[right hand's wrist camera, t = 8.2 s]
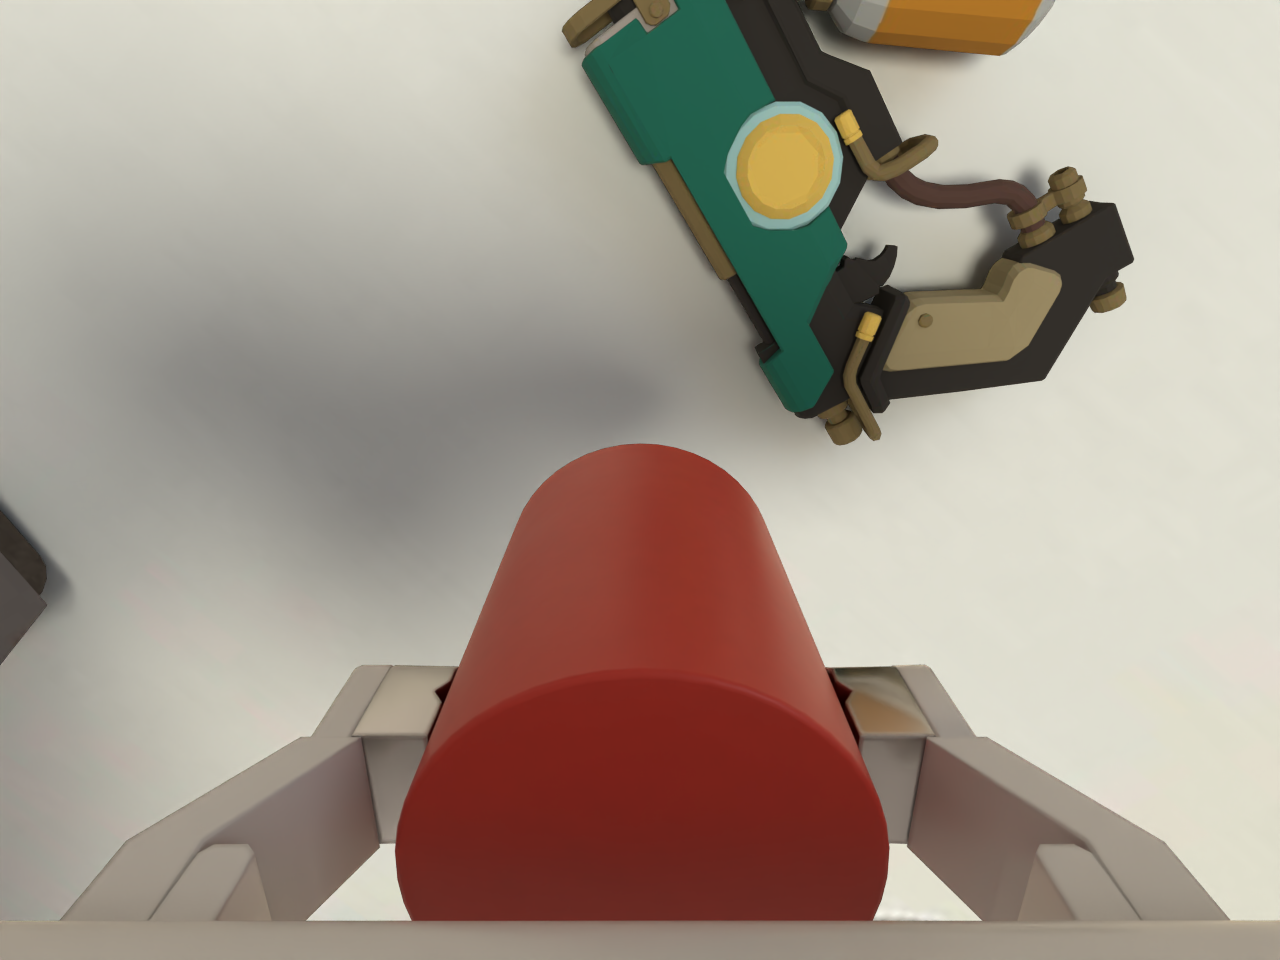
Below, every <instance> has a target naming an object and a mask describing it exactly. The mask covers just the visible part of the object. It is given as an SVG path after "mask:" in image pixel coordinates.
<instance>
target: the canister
mask: <svg viewBox="0 0 1280 960" xmlns="http://www.w3.org/2000/svg"><path fill="white" fill-rule="evenodd" d="M395 856H396V868H397V879H398V883H399V887H400V891H401V894H402V898H403V902H404V904H405V907H406V909H407V911H408V913H409V915H410V918H411V920H412V921H873V919H874V916H875V914H876V912H877V909H878V907H879V905H880V902H881V900H882V896H883V892H884V888H885V884H886V880H887V874H888V861H889V840H888V830H887V823H886V819H885V816H884V812H883V809H882V806H881V802H880V799H879V797H878V794H877V792H876V789H875V787H874V784H873V782H872V780H871V777H870V775H869V772H868V770H867V768H866V765H865V763H864V760H863V758H862V755H861V753H860V751H859V748H858V746H857V743H856V741H855V739H854V736H853V734H852V731H851V729H850V727H849V724H848V722H847V719H846V717H845V714H844V712H843V710H842V707H841V705H840V702H839V700H838V698H837V695H836V693H835V690H834V688H833V686H832V683H831V681H830V678H829V676H828V673H827V671H826V669H825V666H824V664H823V661H822V659H821V657H820V654H819V652H818V649H817V647H816V644H815V642H814V640H813V637H812V635H811V632H810V630H809V628H808V625H807V623H806V620H805V618H804V616H803V613H802V611H801V608H800V606H799V603H798V601H797V599H796V596H795V594H794V591H793V589H792V587H791V584H790V582H789V579H788V577H787V574H786V572H785V570H784V567H783V565H782V562H781V560H780V558H779V555H778V553H777V550H776V548H775V546H774V543H773V541H772V538H771V536H770V533H769V531H768V529H767V526H766V524H765V521H764V519H763V517H762V515H761V513H760V511H759V509H758V507H757V505H756V504H755V503H754V501H753V500H752V498H751V497H750V495H749V494H748V492H747V491H746V490H745V489H744V488H743V487H742V486H741V485H740V484H739V482H738V481H737V480H735V479H734V478H733V477H732V476H731V475H729V474H728V473H727V472H726V471H725V470H723V469H722V468H720V467H719V466H717V465H715V464H714V463H712V462H711V461H709V460H707V459H705V458H702V457H700V456H698V455H696V454H694V453H691V452H688V451H685V450H681V449H678V448H674V447H669V446H663V445H657V444H627V445H618V446H613V447H608V448H604V449H601V450H598V451H595V452H592V453H589V454H586V455H584V456H582V457H580V458H578V459H576V460H574V461H572V462H570V463H568V464H567V465H565V466H564V467H562V468H561V469H559V470H558V471H556V472H555V473H554V474H553V475H552V476H550V477H549V478H548V479H547V480H546V481H545V482H544V483H543V484H542V485H541V486H540V487H539V488H538V489H537V491H536V492H535V493H534V494H533V495H532V497H531V498H530V500H529V501H528V503H527V504H526V506H525V508H524V509H523V511H522V513H521V516H520V518H519V520H518V522H517V524H516V527H515V529H514V532H513V534H512V537H511V539H510V542H509V544H508V547H507V549H506V552H505V554H504V557H503V559H502V561H501V564H500V566H499V569H498V571H497V574H496V576H495V579H494V581H493V584H492V586H491V589H490V591H489V594H488V596H487V598H486V601H485V603H484V606H483V608H482V611H481V613H480V616H479V618H478V621H477V623H476V626H475V628H474V631H473V633H472V635H471V638H470V640H469V643H468V645H467V648H466V650H465V653H464V655H463V658H462V660H461V663H460V665H459V668H458V670H457V672H456V675H455V677H454V680H453V682H452V685H451V687H450V690H449V692H448V695H447V697H446V700H445V702H444V705H443V707H442V709H441V712H440V714H439V717H438V719H437V722H436V724H435V727H434V729H433V732H432V734H431V737H430V739H429V742H428V744H427V746H426V749H425V751H424V754H423V756H422V759H421V761H420V764H419V766H418V769H417V771H416V774H415V776H414V779H413V781H412V783H411V786H410V788H409V791H408V793H407V796H406V798H405V801H404V804H403V807H402V811H401V815H400V818H399V822H398V826H397V834H396V846H395Z"/></svg>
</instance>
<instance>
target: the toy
mask: <svg viewBox="0 0 1280 960" xmlns="http://www.w3.org/2000/svg"><path fill="white" fill-rule="evenodd" d="M46 579H47V577H46V566H45V564H44V562H43V560H42V559H41V557H40V555H39V554H38V553H37V552H36V551H35V550H34V548H33V547H32V546H31V545H30V544H29V543H28V542H27V540H26V539H25V538H24V537H23V536H22V535H21V534H20V532H19V531H18V530H17V529H16V528H15V527H14V526H13V524H12V523H11V522H10V521H9V520H8V519H7V518H6V516H5V515H4V514H3V513H2V512H1V511H0V665H1V663H2V662H3V661H4V660H5V658H6V657H7V656H8V654H9V653H10V652H11V651H12V649H13V648H14V647H15V646H16V644H17V643H18V642H19V640H20V639H21V638H22V637H23V635H24V634H25V633H26V632H27V630H28V629H29V628H30V626H31V625H32V624H33V623H34V621H35V620H36V619H37V618H38V616H39V615H40V614H41V612H42V611H43V610H44V609H45V607H46V606H47V604H46V603H45V602H44V600H43V599H42V598H41V597H40V596H39V595H40V594H41V592H42V591H43V588H44V585H45V582H46Z"/></svg>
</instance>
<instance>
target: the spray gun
mask: <svg viewBox="0 0 1280 960" xmlns="http://www.w3.org/2000/svg"><path fill="white" fill-rule="evenodd" d="M1054 2H1055V0H805V3H806V6H807V8H808V9H810V10H820V11H827V10H828V12H829V14H830V16H831V17H832V19H833V21H834V23H835V24H836V26H837V28H838V30H839V31H840V32H841V33H844V34H846V35H848V36H851V37H853V38H855V39H857V40H860V41H863V42H866V43H874V44H884V45H894V46H904V47H915V48H925V49H935V50H945V51H955V52H966V53H976V54H986V55H996V56H1001V55H1004V54H1006V53H1008V52H1009V51H1010V50H1012V49H1013V48H1014V47H1016V46H1017V45H1018V44H1020V43H1021V42H1022V41H1023V40H1024V39H1025V38H1026V37H1027V36H1028V35H1029V34H1030V33H1031V32H1032V31H1033V30H1034V29H1035V28H1036V27H1037V26H1038V25H1039V24H1040V22H1041V21H1042V20H1043V18H1044V17H1045V16H1046V14H1047V13H1048V12H1049V10H1050V9H1051V7H1052V6H1053V4H1054ZM612 21H613V22H614V25H613V26H612V27H610V28H609V29H608V30H606V31H605V32H604V33H603V34H601V35H600V36H599V37H597V38H596V39H595V40H594V41H593V42H592V43H591V44H590V45H589V46H588V47H587V49H586V52H585V56H586V57H585V58H584V60H583V62H582V67H583V69H584V70H585V72H586V74H587V75H588V77H589V79H590V80H591V82H592V84H593V85H594V87H595V89H596V91H597V92H598V94H599V96H600V97H601V99H602V101H603V102H604V104H605V106H606V107H607V109H608V111H609V112H610V114H611V116H612V118H613V119H614V121H615V123H616V124H617V126H618V128H619V129H620V131H621V133H622V134H623V136H624V138H625V139H626V141H627V143H628V145H629V146H630V148H631V150H632V151H633V153H634V155H635V156H636V158H637V160H638V161H639V163H640V164H641V165H649V164H652V165H653V166H654V168H655V170H656V172H657V173H658V175H659V177H660V178H661V180H662V182H663V183H664V185H665V187H666V189H667V190H668V192H669V194H670V195H671V197H672V199H673V200H674V202H675V204H676V206H677V207H678V209H679V211H680V212H681V214H682V216H683V217H684V219H685V221H686V222H687V224H688V226H689V228H690V229H691V231H692V233H693V234H694V236H695V238H696V239H697V241H698V243H699V245H700V246H701V248H702V250H703V251H704V253H705V255H706V256H707V258H708V260H709V262H710V263H711V265H712V267H713V268H714V270H715V272H716V273H717V275H718V277H719V279H720V280H726V279H728V281H729V283H730V284H731V286H732V288H733V290H734V291H735V293H736V295H737V296H738V298H739V300H740V302H741V303H742V305H743V307H744V308H745V310H746V312H747V314H748V315H749V317H750V319H751V320H752V322H753V324H754V326H755V327H756V329H757V331H758V332H759V334H760V336H761V338H762V339H763V341H764V342H762V343H760V344H759V345H757V346H756V347H755V349H756V351H757V353H758V355H759V357H760V360H759V365H760V366H761V368H762V370H763V371H764V373H765V375H766V377H767V378H768V380H769V382H770V383H771V385H772V387H773V388H774V390H775V392H776V393H777V395H778V397H779V399H780V400H781V402H782V404H783V405H784V407H785V408H786V409H787V410H788V411H791V412H794V413H795V415H796V416H797V417H799V418H804V419H807V418H813V417H815V416H817V415H818V417H819V418H821V419H827V422H826V424H825V428H826V430H827V432H828V434H829V435H830V437H831V439H832V441H833V442H834V443H835V444H836V445H845V444H848V443H850V442H852V441H854V440H856V439H857V438H858V437H859V436H860V434H861V432H862V428H863V430H864V431H865V432H866V434H867V435H868V436H869V438H870V439H872V440H873V441H875V440H880V437H881V431H880V428H879V426H878V424H877V422H876V420H875V419H874V417H873V415H872V413H871V411H872V412H873V413H883V412H884V411H885V410H886V408H887V407H888V405H889V404H890V401H889V400H890V399H898V398H907V397H916V396H925V395H933V394H942V393H951V392H960V391H967V390H975V389H982V388H990V387H997V386H1005V385H1012V384H1020V383H1027V382H1035V381H1042V380H1043V379H1045V378H1046V376H1047V374H1048V373H1049V371H1050V370H1051V368H1052V366H1053V365H1054V363H1055V361H1056V360H1057V358H1058V356H1059V355H1060V353H1061V351H1062V350H1063V348H1064V347H1065V345H1066V343H1067V342H1068V340H1069V338H1070V337H1071V335H1072V333H1073V332H1074V330H1075V329H1076V327H1077V325H1078V324H1079V322H1080V320H1081V319H1082V317H1083V315H1084V314H1085V312H1086V311H1087V309H1088V307H1089V306H1090V308H1091V309H1092V311H1093V312H1095V313H1104V312H1107V311H1111V310H1113V309H1116V308H1118V307H1120V306H1121V305H1122V304H1123V303H1124V302H1125V301H1126V293H1125V289H1124V284H1123V283H1121V282H1116V281H1115V280H1116V279H1117V277H1118V275H1119V273H1118V270H1120V269H1122V268H1124V267H1126V266H1127V265H1129V264H1131V263H1133V261H1134V257H1133V254H1132V251H1131V248H1130V246H1129V243H1128V240H1127V237H1126V234H1125V231H1124V228H1123V225H1122V222H1121V219H1120V217H1119V214H1118V211H1117V208H1116V205H1115V204H1114V203H1100V202H1093V201H1087V200H1083V198H1084V196H1085V194H1084V193H1085V192H1086V191H1087V188H1086V185H1085V182H1084V179H1083V176H1082V175H1078V174H1077V171H1076V169H1075V168H1073V167H1065V168H1062V169H1059V170H1057V171H1056V172H1055V173H1053V174H1052V175H1050V178H1049V180H1048V183H1049V185H1050V189H1049V190H1048V193H1046V194H1045V195H1043V196H1042V197H1040V198H1038V199H1036V198H1035V196H1034V195H1033V194H1032V193H1031V192H1030V191H1029V190H1028V189H1027V188H1026V187H1025V186H1024V185H1022V184H1019V183H1017V182H1015V181H1012V180H1002V179H998V180H991V181H985V182H979V183H973V184H964V185H940V184H935V183H929V182H925V181H923V180H921V179H919V178H917V177H915V176H914V175H913V174H912V173H911V172H910V171H909V169H911V168H913V167H914V166H916V165H917V164H919V163H920V162H921V161H923V160H924V159H926V158H927V157H928V156H930V155H931V154H932V153H933V152H934V151H935V150H936V149H937V147H938V140H937V138H936V137H935V136H931V135H926V134H924V135H920V136H916V137H912V138H909V139H907V140H906V141H904V142H902V140H901V138H900V136H899V134H898V131H897V129H896V127H895V125H894V123H893V120H892V118H891V116H890V114H889V112H888V109H887V107H886V105H885V103H884V101H883V98H882V96H881V94H880V92H879V90H878V87H877V85H876V83H875V81H874V79H873V76H872V74H871V72H870V71H869V70H867V69H864V68H862V67H859V66H856V65H854V64H851V63H849V62H846V61H844V60H841V59H839V58H836V57H833V56H831V55H828V54H826V53H824V52H822V51H821V50H820V48H819V46H818V44H817V42H816V40H815V38H814V36H813V34H812V31H811V29H810V27H809V25H808V23H807V21H806V19H805V17H804V15H803V13H802V11H801V9H800V7H799V5H798V3H797V1H796V0H592V1H590V2H589V3H588V4H586V5H585V6H584V7H583V8H581V9H580V10H579V11H578V12H577V13H576V14H574V15H573V16H572V17H571V18H570V19H569V20H568V21H567V22H566V24H565V25H564V26H563V29H562V32H563V34H564V35H565V37H566V39H567V40H568V42H569V44H570V45H571V47H573V48H576V47H578V46H580V45H581V44H583V43H585V42H587V41H588V40H589V39H590V38H592V37H593V36H594V35H595V34H597V33H598V32H599V31H600V30H602V29H603V28H604V27H606V26H607V25H608V24H609V23H611V22H612ZM764 106H765V107H764ZM866 180H875V181H885V182H886V183H887V185H888V186H889V187H890V188H891V189H892V190H893V191H895V192H896V193H897V194H898V195H899V196H900V197H901V198H903V199H905V200H907V201H909V202H911V203H913V204H916V205H920V206H925V207H930V208H936V209H955V208H969V207H975V206H981V205H987V204H993V203H996V204H1004V205H1007V206H1008V207H1009V208H1010V209H1011V210H1012V211H1011V212H1009V213H1008V214H1007V218H1008V221H1009V223H1010V226H1011V228H1012V229H1014V230H1018V229H1021V233H1020V234H1019V236H1018V238H1017V239H1018V242H1019V243H1017V244H1016V245H1014V246H1012V247H1011V248H1009V249H1007V250H1006V251H1004V253H1003V255H1002V258H1001V259H1000V260H998V261H997V262H996V263H995V264H994V265H993V266H992V267H991V269H990V271H989V272H988V275H987V277H986V280H985V282H984V285H983V286H982V288H981V289H966V290H940V291H914V292H904V293H902V292H900V291H898V290H896V289H895V288H893V287H891V286H889V285H886V286H883V285H884V284H885V282H886V281H887V279H888V278H889V277H890V275H891V272H892V270H893V268H894V265H895V261H896V257H897V246H895V245H886V246H885V248H884V250H883V251H882V252H881V254H880V255H878V256H877V257H875V258H874V259H872V260H864V259H860V258H856V257H855V258H854V259H851V258H849V257H847V256H845V255H843V254H844V252H845V251H846V248H847V242H846V240H845V238H844V236H843V234H842V232H841V228H842V226H843V224H844V222H845V220H846V218H847V216H848V214H849V213H850V211H851V209H852V207H853V205H854V203H855V201H856V199H857V197H858V195H859V193H860V191H861V189H862V188H863V186H864V184H865V182H866ZM1055 206H1058V207H1059V208H1061V209H1062V210H1061V212H1060V214H1059V217H1060V219H1058V220H1056V221H1054V222H1053V223H1051V222H1049V221H1045V219H1044V217H1045V216H1046V215H1047V212H1048V211H1049V210H1051V209H1052V208H1054V207H1055ZM840 260H841V261H840ZM839 262H840V265H839V266H838V264H839ZM837 266H838V267H837ZM879 286H883V287H880V288H879ZM873 296H875V297H874V299H873V301H872V304H871V305H870V304H866V303H861V302H862V301H865V300H867V299H869V298H871V297H873ZM847 404H848V405H849V407H850V408H851V410H852V411H850V410H845V409H846V407H847ZM870 410H871V411H870Z"/></svg>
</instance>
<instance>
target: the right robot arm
mask: <svg viewBox="0 0 1280 960" xmlns="http://www.w3.org/2000/svg"><path fill="white" fill-rule="evenodd" d="M458 668H459V666H412V665H395V666H392V665H361V666H359V667H357V668H356V669H355V670H354V671H353V672H352V674H351V676H350V677H349V679H348V680H347V682H346V683H345V685H344V686H343V688H342V690H341V691H340V693H339V694H338V696H337V697H336V699H335V700H334V702H333V704H332V705H331V707H330V708H329V710H328V711H327V713H326V714H325V716H324V717H323V719H322V721H321V722H320V724H319V725H318V727H317V728H316V730H315V731H314V733H313V735H312V736H311V737H300V738H298V739H297V740H295V741H293V742H292V743H290V744H288V745H286V746H285V747H283V748H281V749H280V750H278V751H276V752H275V753H273V754H271V755H270V756H268V757H266V758H265V759H263V760H261V761H260V762H258V763H256V764H255V765H253V766H251V767H250V768H248V769H246V770H244V771H243V772H241V773H239V774H238V775H236V776H234V777H233V778H231V779H229V780H228V781H226V782H224V783H223V784H221V785H219V786H218V787H216V788H214V789H213V790H211V791H209V792H207V793H206V794H204V795H202V796H201V797H199V798H197V799H196V800H194V801H192V802H191V803H189V804H187V805H186V806H184V807H182V808H181V809H179V810H177V811H176V812H174V813H172V814H171V815H169V816H167V817H165V818H164V819H162V820H160V821H159V822H157V823H155V824H154V825H152V826H150V827H149V828H147V829H145V830H144V831H142V832H140V833H139V834H137V835H135V836H134V837H132V838H130V839H128V840H127V841H126V842H125V843H124V844H123V845H122V846H121V848H120V849H119V850H118V851H117V852H116V854H115V855H114V856H113V857H112V858H111V860H110V861H109V862H108V863H107V864H106V866H105V867H104V868H103V869H102V870H101V872H100V873H99V874H98V875H97V876H96V878H95V879H94V880H93V881H92V882H91V884H90V885H89V886H88V887H87V888H86V890H85V891H84V892H83V893H82V894H81V896H80V897H79V898H78V899H77V900H76V902H75V903H74V904H73V905H72V906H71V908H70V909H69V910H68V911H67V912H66V914H65V915H64V916H63V917H62V918H61V920H60V921H0V960H1280V921H1231V920H1230V919H1229V918H1228V917H1227V916H1226V914H1225V913H1224V912H1223V911H1222V910H1221V908H1220V907H1219V906H1218V905H1217V904H1216V902H1215V901H1214V900H1213V899H1212V898H1211V897H1210V895H1209V894H1208V893H1207V892H1206V891H1205V889H1204V888H1203V887H1202V886H1201V885H1200V884H1199V882H1198V881H1197V880H1196V879H1195V878H1194V876H1193V875H1192V874H1191V873H1190V872H1189V870H1188V869H1187V868H1186V867H1185V866H1184V865H1183V863H1182V862H1181V861H1180V860H1179V859H1178V857H1177V856H1176V855H1175V854H1174V853H1173V852H1172V850H1171V849H1170V848H1169V847H1168V846H1167V844H1166V843H1165V842H1164V841H1162V840H1160V839H1158V838H1157V837H1155V836H1153V835H1152V834H1150V833H1148V832H1147V831H1145V830H1143V829H1142V828H1140V827H1138V826H1136V825H1135V824H1133V823H1131V822H1130V821H1128V820H1126V819H1125V818H1123V817H1121V816H1120V815H1118V814H1116V813H1114V812H1113V811H1111V810H1109V809H1108V808H1106V807H1104V806H1103V805H1101V804H1099V803H1098V802H1096V801H1094V800H1093V799H1091V798H1089V797H1087V796H1086V795H1084V794H1082V793H1081V792H1079V791H1077V790H1076V789H1074V788H1072V787H1071V786H1069V785H1067V784H1065V783H1064V782H1062V781H1060V780H1059V779H1057V778H1055V777H1054V776H1052V775H1050V774H1049V773H1047V772H1045V771H1043V770H1042V769H1040V768H1038V767H1037V766H1035V765H1033V764H1032V763H1030V762H1028V761H1027V760H1025V759H1023V758H1021V757H1020V756H1018V755H1016V754H1015V753H1013V752H1011V751H1010V750H1008V749H1006V748H1005V747H1003V746H1001V745H999V744H998V743H996V742H994V741H993V740H991V739H989V738H988V737H976V735H975V734H974V732H973V731H972V729H971V728H970V726H969V725H968V723H967V722H966V720H965V719H964V717H963V716H962V714H961V713H960V711H959V710H958V708H957V707H956V705H955V704H954V702H953V701H952V699H951V698H950V696H949V695H948V693H947V692H946V690H945V689H944V687H943V686H942V684H941V683H940V681H939V680H938V678H937V677H936V675H935V674H934V672H933V671H932V669H931V668H930V667H928V666H926V665H896V666H891V667H825V669H826V671H827V673H828V676H829V678H830V681H831V683H832V686H833V688H834V690H835V693H836V695H837V698H838V700H839V702H840V705H841V707H842V710H843V712H844V714H845V717H846V719H847V722H848V724H849V727H850V729H851V731H852V734H853V736H854V739H855V741H856V743H857V746H858V748H859V751H860V753H861V755H862V758H863V760H864V763H865V765H866V768H867V770H868V772H869V775H870V777H871V780H872V782H873V784H874V787H875V789H876V792H877V794H878V797H879V799H880V802H881V806H882V809H883V812H884V816H885V819H886V823H887V830H888V840H889V843H898V844H907V847H908V848H909V849H910V850H911V851H912V852H913V853H914V854H915V855H916V856H917V857H918V858H919V859H920V860H921V861H922V862H923V863H924V864H925V865H926V866H927V867H928V868H929V869H930V870H931V871H932V872H933V873H934V874H935V875H936V876H937V877H938V878H939V879H940V880H941V881H943V882H944V883H945V884H946V885H947V886H948V887H949V888H950V889H951V890H952V891H953V892H954V893H955V894H956V895H957V896H958V897H959V898H960V899H961V900H962V901H963V902H964V903H965V904H966V905H967V906H968V907H969V908H970V909H971V910H972V911H973V912H974V913H975V914H976V915H977V916H978V917H979V918H980V919H981V920H982V921H306V920H307V919H308V918H309V917H310V916H311V915H312V914H313V913H314V912H315V911H316V910H317V909H318V908H319V907H320V906H321V905H322V904H323V903H324V902H325V901H326V900H327V899H328V898H329V897H330V896H331V895H332V894H333V893H334V892H335V891H336V890H337V889H338V888H339V887H340V886H341V885H342V884H343V883H344V882H345V881H346V880H347V879H348V878H349V877H350V876H351V875H352V874H353V873H354V872H355V871H356V870H357V869H358V868H359V867H360V866H361V865H362V864H363V863H364V862H365V861H366V860H367V859H368V858H370V857H371V856H372V855H373V854H374V853H375V852H376V851H377V850H378V849H379V848H380V845H379V844H388V843H396V834H397V826H398V822H399V818H400V815H401V811H402V807H403V804H404V801H405V798H406V796H407V793H408V791H409V788H410V786H411V783H412V781H413V779H414V776H415V774H416V771H417V769H418V766H419V764H420V761H421V759H422V756H423V754H424V751H425V749H426V746H427V744H428V742H429V739H430V737H431V734H432V732H433V729H434V727H435V724H436V722H437V719H438V717H439V714H440V712H441V709H442V707H443V705H444V702H445V700H446V697H447V695H448V692H449V690H450V687H451V685H452V682H453V680H454V677H455V675H456V672H457V670H458Z"/></svg>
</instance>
